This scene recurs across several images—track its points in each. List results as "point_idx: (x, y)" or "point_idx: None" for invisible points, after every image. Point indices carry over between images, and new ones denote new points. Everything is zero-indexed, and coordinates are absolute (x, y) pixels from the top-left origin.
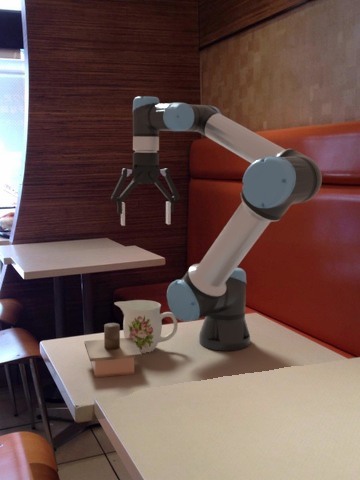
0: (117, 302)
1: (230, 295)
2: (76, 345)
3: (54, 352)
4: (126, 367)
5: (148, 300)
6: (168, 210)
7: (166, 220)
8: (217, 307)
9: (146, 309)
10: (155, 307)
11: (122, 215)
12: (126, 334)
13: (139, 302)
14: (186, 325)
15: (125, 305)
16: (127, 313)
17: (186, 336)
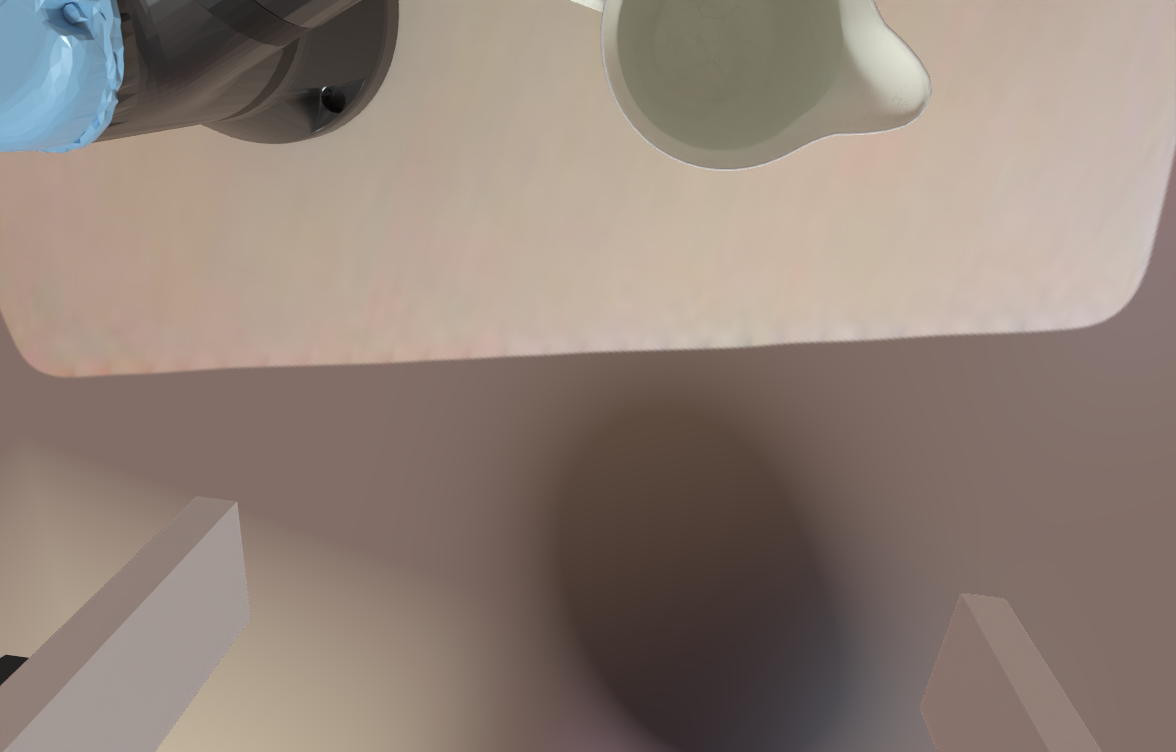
0: (893, 125)
1: None
2: (1004, 210)
3: (1149, 144)
4: None
5: (651, 144)
6: (65, 676)
7: (221, 618)
8: None
9: (666, 134)
10: (620, 83)
11: (1093, 743)
12: (831, 1)
13: (710, 163)
14: (391, 315)
15: (828, 120)
16: (847, 12)
17: (435, 158)
